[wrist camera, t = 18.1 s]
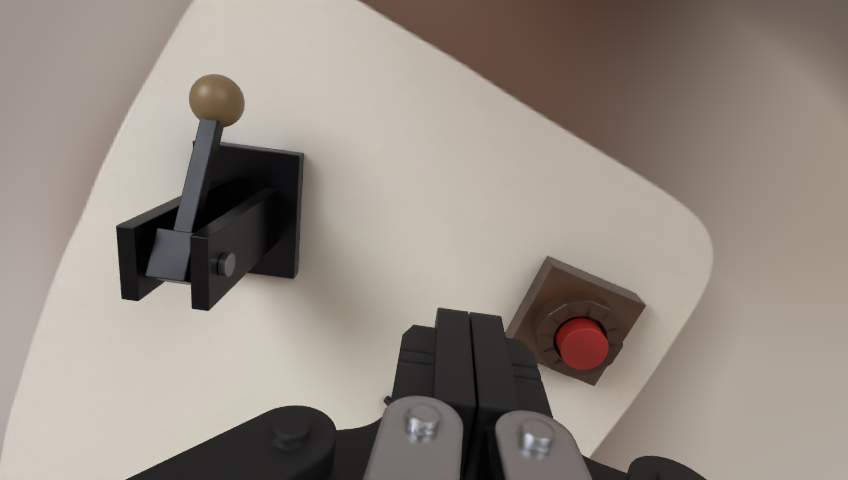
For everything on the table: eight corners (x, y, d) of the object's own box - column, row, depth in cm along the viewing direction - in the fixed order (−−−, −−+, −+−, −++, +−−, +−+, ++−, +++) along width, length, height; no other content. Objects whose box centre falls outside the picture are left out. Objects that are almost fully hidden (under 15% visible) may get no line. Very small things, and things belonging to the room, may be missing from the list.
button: (569, 310, 37) (575, 321, 35) (610, 327, 37) (617, 339, 36) (548, 347, 38) (552, 359, 36) (587, 363, 38) (594, 376, 37)
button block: (547, 255, 40) (557, 274, 36) (636, 293, 40) (655, 316, 36) (502, 336, 42) (508, 362, 38) (587, 371, 43) (600, 400, 39)
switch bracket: (200, 138, 38) (82, 170, 26) (304, 152, 38) (235, 191, 26) (202, 260, 41) (98, 339, 29) (298, 273, 41) (234, 357, 29)
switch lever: (207, 87, 33) (186, 60, 30) (255, 93, 33) (239, 67, 30) (160, 281, 30) (131, 274, 27) (212, 288, 30) (189, 282, 27)
